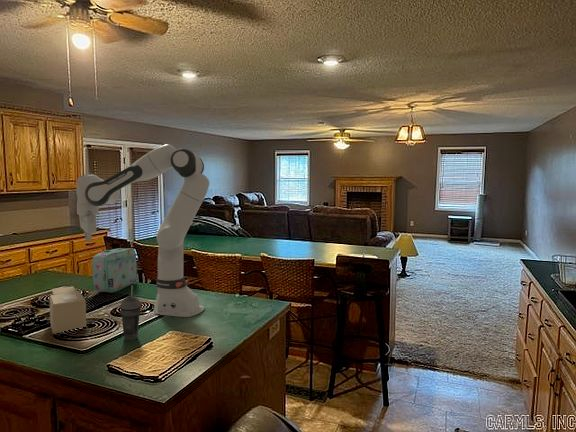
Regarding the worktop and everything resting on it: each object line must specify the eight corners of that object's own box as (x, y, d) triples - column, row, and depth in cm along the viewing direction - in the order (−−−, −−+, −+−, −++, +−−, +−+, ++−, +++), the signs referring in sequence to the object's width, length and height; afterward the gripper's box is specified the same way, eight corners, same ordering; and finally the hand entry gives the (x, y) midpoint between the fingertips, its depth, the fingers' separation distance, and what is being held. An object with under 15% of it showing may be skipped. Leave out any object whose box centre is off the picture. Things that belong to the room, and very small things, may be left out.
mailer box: (50, 324, 157) (49, 297, 156) (81, 319, 163) (80, 293, 162) (53, 334, 147) (52, 305, 146) (86, 329, 154) (85, 301, 152)
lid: (48, 291, 164) (48, 289, 164) (76, 287, 170) (76, 285, 170) (53, 306, 146) (53, 303, 146) (85, 301, 152) (85, 299, 152)
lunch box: (108, 296, 195) (107, 253, 193) (89, 294, 197) (89, 252, 195) (139, 282, 221) (139, 244, 219) (122, 281, 223) (122, 243, 221)
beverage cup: (134, 332, 152) (134, 280, 150) (145, 337, 147) (145, 284, 145) (116, 337, 146) (115, 284, 144) (126, 343, 142) (126, 288, 140)
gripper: (99, 212, 174) (100, 243, 175) (91, 208, 191) (92, 237, 192) (83, 212, 170) (84, 244, 172) (76, 208, 187) (77, 237, 188)
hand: (88, 240), depth 182 cm, fingers closed
